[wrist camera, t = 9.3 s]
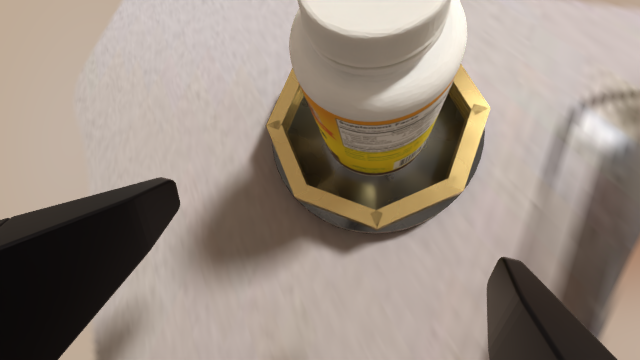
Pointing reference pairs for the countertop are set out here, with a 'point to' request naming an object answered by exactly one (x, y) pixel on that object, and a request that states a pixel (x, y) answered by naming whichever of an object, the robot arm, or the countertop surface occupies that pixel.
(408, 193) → the black and gold tray
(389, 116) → the supplement bottle
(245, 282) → the countertop surface
